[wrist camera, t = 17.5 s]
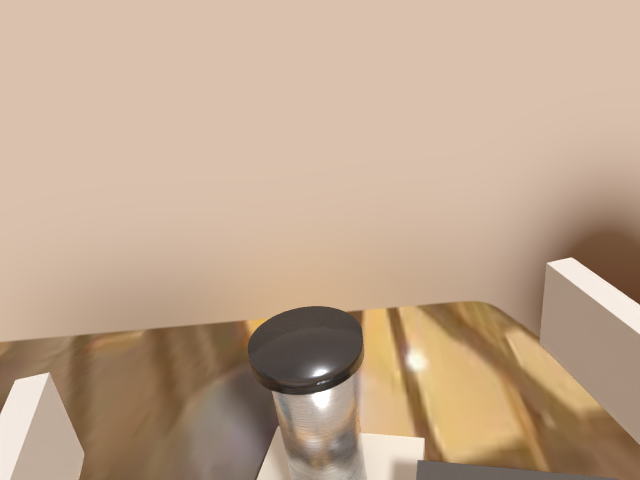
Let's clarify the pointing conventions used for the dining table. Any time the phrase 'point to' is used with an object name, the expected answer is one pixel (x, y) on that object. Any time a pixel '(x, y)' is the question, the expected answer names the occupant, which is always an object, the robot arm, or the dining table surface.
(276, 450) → the pad
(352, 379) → the flanged shaft
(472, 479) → the housing
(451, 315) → the dining table surface
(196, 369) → the dining table surface
